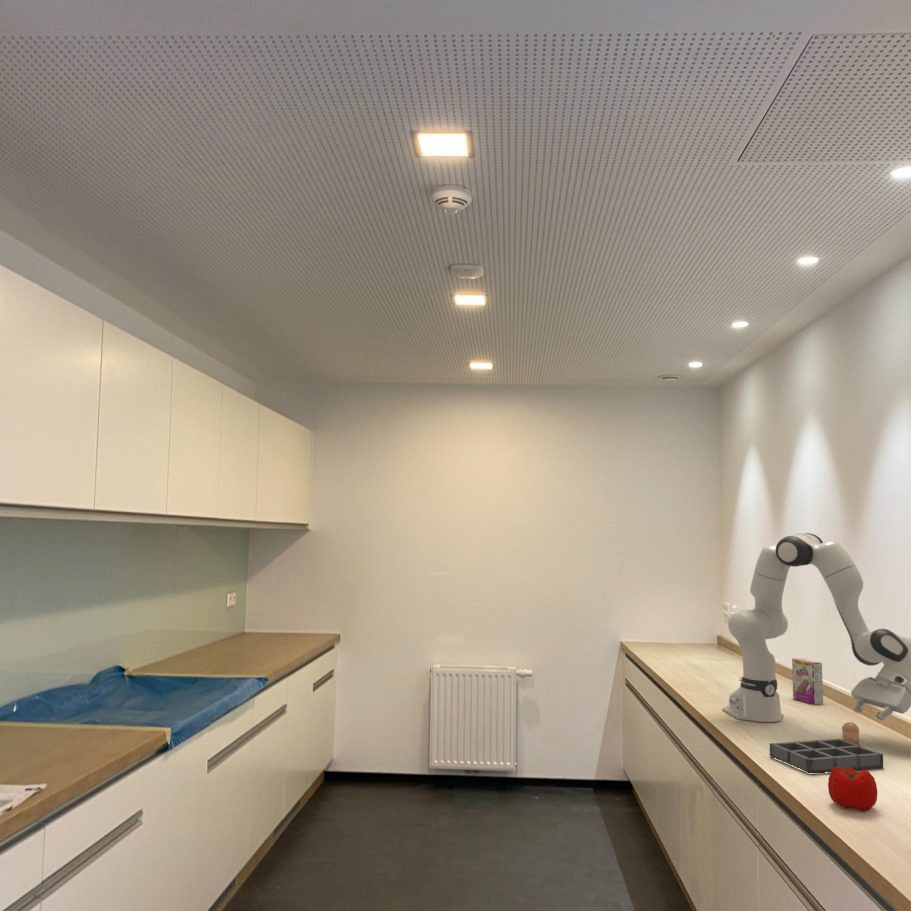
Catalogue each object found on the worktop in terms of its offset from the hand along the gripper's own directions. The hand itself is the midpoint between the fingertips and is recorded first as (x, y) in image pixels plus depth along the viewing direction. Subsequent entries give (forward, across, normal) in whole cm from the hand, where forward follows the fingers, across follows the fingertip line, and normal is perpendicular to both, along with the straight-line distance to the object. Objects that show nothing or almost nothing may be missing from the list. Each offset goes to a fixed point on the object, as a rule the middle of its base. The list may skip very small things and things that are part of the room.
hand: (867, 715), depth 251 cm
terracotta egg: (+12, 0, +2) cm, 12 cm away
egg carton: (+25, +11, -11) cm, 30 cm away
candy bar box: (-12, -60, +26) cm, 66 cm away
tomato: (+40, +44, -25) cm, 64 cm away
